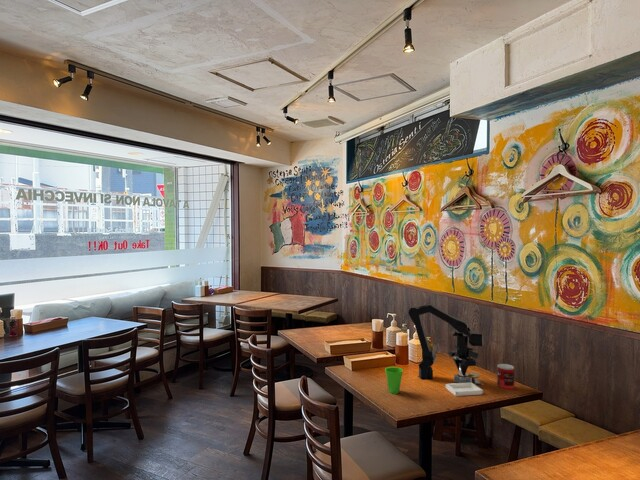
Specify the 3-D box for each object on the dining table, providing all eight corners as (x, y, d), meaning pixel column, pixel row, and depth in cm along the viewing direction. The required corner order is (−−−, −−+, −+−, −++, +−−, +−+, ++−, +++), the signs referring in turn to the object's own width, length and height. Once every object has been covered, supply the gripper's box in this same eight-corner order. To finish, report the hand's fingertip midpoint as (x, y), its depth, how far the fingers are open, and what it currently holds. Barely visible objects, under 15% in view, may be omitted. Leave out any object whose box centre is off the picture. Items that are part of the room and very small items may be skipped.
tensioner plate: (460, 387, 209) (460, 377, 209) (452, 381, 218) (452, 372, 218) (484, 385, 211) (484, 376, 211) (475, 379, 220) (475, 370, 220)
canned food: (500, 383, 214) (500, 362, 214) (516, 387, 208) (516, 366, 208) (494, 387, 208) (494, 366, 208) (511, 391, 203) (510, 369, 203)
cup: (392, 396, 197) (392, 373, 197) (381, 390, 205) (381, 368, 205) (407, 393, 201) (407, 370, 201) (395, 387, 209) (395, 365, 209)
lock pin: (460, 383, 212) (460, 367, 212) (458, 381, 215) (458, 365, 215) (466, 383, 213) (466, 366, 213) (463, 381, 216) (463, 365, 216)
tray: (455, 397, 196) (455, 391, 196) (445, 388, 207) (445, 383, 207) (483, 395, 198) (483, 390, 198) (471, 387, 209) (471, 382, 209)
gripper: (486, 348, 206) (486, 379, 206) (467, 339, 224) (467, 368, 224) (465, 349, 204) (465, 381, 204) (448, 340, 223) (448, 369, 223)
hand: (462, 374), depth 214 cm, fingers closed on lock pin, 3 cm apart
